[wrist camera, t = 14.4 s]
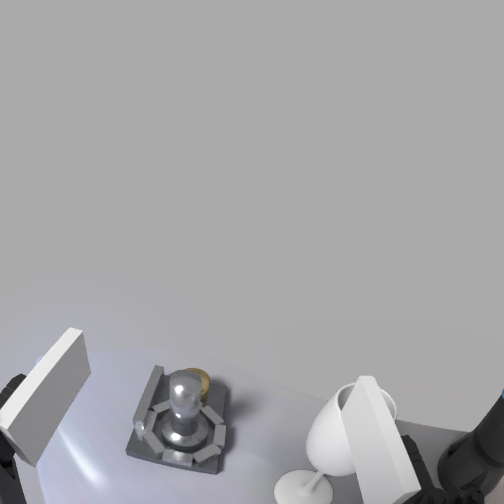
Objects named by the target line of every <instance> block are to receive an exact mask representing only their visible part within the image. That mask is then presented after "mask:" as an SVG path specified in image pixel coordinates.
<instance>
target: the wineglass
mask: <svg viewBox="0 0 504 504" xmlns="http://www.w3.org/2000/svg"><path fill="white" fill-rule="evenodd" d="M355 384H356V383H351V384H347V385H345V386H343V387H342V388H341V389H339V390H338V391H337V392H336V394H335V395H334V396H333V397H332V398H331V399H330V400H329V401H328V403H327V404H326V405H325V406H324V407H323V409H322V410H321V411H320V413H319V414H318V416H317V417H316V419H315V421H314V423H313V425H312V427H311V429H310V431H309V434H308V437H307V441H306V452H307V456H308V458H309V460H310V462H311V463H312V465H313V466H314V467H315V468H316V469H317V470H318V471H317V473H316V472H314V471H310V470H295V471H291V472H288V473H286V474H285V475H283V476H282V477H281V478H280V479H279V480H278V482H277V483H276V486H275V490H274V494H275V498H276V501H277V503H278V504H331V502H332V499H333V489H332V486H331V484H330V483H329V481H328V480H327V479H326V478H325V477H323V475H324V474H327V475H331V476H347V475H350V474H353V473H356V470H355V466H354V462H353V458H352V454H351V451H350V447H349V443H348V440H347V436H346V432H345V429H344V425H343V421H342V418H341V414H340V412H341V411H342V409H343V407H344V405H345V403H346V402H347V400H348V398H349V396H350V394H351V392H352V390H353V388H354V386H355ZM379 389H380V391H381V394H382V396H383V398H384V400H385V402H386V405H387V407H388V409H389V411H390V414H391V416H392V418H393V420H394V423H395V421H396V417H397V407H396V404H395V402H394V400H393V399H392V397H391V396H390V395H389V394H388V393H386V392H385V391H384V390H382V389H381V388H379Z"/></svg>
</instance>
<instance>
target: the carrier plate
mask: <svg viewBox="0 0 504 504" xmlns="http://www.w3.org/2000/svg"><path fill="white" fill-rule="evenodd" d="M185 370H190V371H193V372H195V373H197V374H198V375H199V376H200V377H201V379H202V387H201V398H200V410H199V414H201V415H202V416H203V417H204V418H205V419H206V421H207V423H208V437H207V440H206V442H205V444H204V445H203V446H202V447H200V448H198V449H196V450H193V451H180V450H176V449H174V448H172V447H170V446H169V445H168V444H167V443H166V442H165V441H164V440H163V438H162V435H161V420H162V418H163V416H164V415H165V414H166V413H168V412H169V411H170V376H166V375H164V367H161V366H157V365H155V367H154V369H153V372H152V374H151V376H150V379H149V381H148V383H147V386H146V388H145V390H144V393H143V395H142V398H141V400H140V402H139V405H138V407H137V410H136V412H135V415H134V417H133V423H134V429H133V432H132V434H131V437H130V440H129V442H128V445H127V448H126V453H127V455H129V456H132V457H135V458H139V459H142V460H146V461H150V462H154V463H158V464H162V465H166V466H170V467H175V468H180V469H185V470H190V471H196V472H202V473H208V474H215V475H216V473H217V466H218V457H219V454H221V449H223V450H224V444H225V434H226V425H224V420H223V413H224V404H225V396H226V387H225V386H219V385H212V384H209V380H210V379H209V376H208V374H207V373H206V372H204V371H203V370H201V369H197V368H188V369H185Z"/></svg>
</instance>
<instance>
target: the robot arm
mask: <svg viewBox="0 0 504 504" xmlns="http://www.w3.org/2000/svg"><path fill="white" fill-rule="evenodd" d="M90 374H91V371H90V367H89V362H88V357H87V352H86V347H85V341H84V335H83V331H81V330H77V329H74V328H71V327H70V328H69V329H68V330H67V331H66V332H65V333H64V335H62V337H61V338H60V339H59V340H58V341H57V342H56V343H55V344H54V345H53V347H52V348H51V349H50V350H49V351H48V352H47V353H46V354H45V356H44V357H43V358H42V359H41V360H40V361H39V363H38V364H37V365H36V366H35V367H34V369H33V370H32V371H31V372H30V373H29V374H28V376H25V375H23V374H19V375H18V376H16V377H14V378H12V380H11V381H10V382H9V383H8V384H7V386H6V388H4V389H3V390H2V392H1V393H0V504H27V503H26V500H25V497H24V493H23V490H22V487H21V483H20V479H19V475H18V471H17V467H16V463H15V459H14V457H13V456H14V454H15V452H16V453H17V455H18V456H19V457H20V459H21V460H23V461H25V462H26V463H28V464H30V465H31V466H33V467H35V466H36V464H37V462H38V460H39V459H40V457H41V455H42V453H43V451H44V449H45V448H46V446H47V444H48V442H49V441H50V439H51V437H52V435H53V434H54V432H55V430H56V429H57V427H58V425H59V423H60V422H61V420H62V418H63V417H64V415H65V413H66V412H67V410H68V408H69V407H70V405H71V404H72V402H73V400H74V399H75V397H76V396H77V394H78V392H79V391H80V389H81V388H82V386H83V385H84V383H85V381H86V380H87V378H88V377H89V375H90ZM340 414H341V418H342V421H343V425H344V429H345V432H346V436H347V440H348V443H349V447H350V451H351V454H352V458H353V462H354V466H355V470H356V474H357V478H358V482H359V486H360V490H361V494H362V498H363V502H364V504H484V497H485V496H487V495H488V494H489V493H490V492H491V491H492V490H493V489H494V488H495V487H496V486H497V484H498V483H499V481H500V480H501V478H502V477H503V475H504V389H503V391H502V395H501V396H500V397H499V399H498V400H497V402H496V403H495V404H494V406H493V407H492V408H491V410H490V411H489V412H488V414H487V415H486V416H485V417H484V419H483V420H482V421H481V422H480V424H479V425H478V426H477V427H476V428H475V429H474V430H473V431H472V432H470V433H468V434H467V435H465V436H464V437H462V438H460V439H459V440H457V441H456V442H454V443H453V444H452V445H451V446H450V447H449V448H448V449H447V450H446V451H445V452H444V453H443V454H442V456H441V458H440V460H439V464H438V476H439V480H440V483H441V485H442V487H443V488H444V490H445V491H446V492H447V494H446V493H445V492H444V491H443V490H441V489H438V488H435V487H434V485H433V483H432V481H431V478H430V476H429V474H428V471H427V469H426V466H425V464H424V462H423V461H422V457H421V455H420V454H419V450H418V448H417V446H416V443H415V442H414V441H413V440H412V439H411V438H410V437H409V436H408V435H405V436H400V434H399V432H398V430H397V427H396V425H395V423H394V420H393V418H392V416H391V414H390V411H389V409H388V407H387V405H386V402H385V400H384V398H383V396H382V394H381V391H380V389H379V387H378V385H377V383H376V381H375V378H374V377H373V376H360V377H359V379H358V380H357V382H356V384H355V386H354V388H353V390H352V392H351V394H350V396H349V398H348V400H347V402H346V403H345V405H344V407H343V409H342V411H341V412H340Z"/></svg>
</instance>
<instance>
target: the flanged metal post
mask: <svg viewBox="0 0 504 504" xmlns="http://www.w3.org/2000/svg"><path fill="white" fill-rule="evenodd" d="M201 387H202V379H201V377H200V376H199V375H198V374H197V373H195V372H193V371H190V370H178V371H176V372H174V373H173V374H172V375H171V376H170V411H169V412H168V413H166V414H165V415H164V416H163V418H162V420H161V435H162V438H163V440H164V441H165V442H166V443H167V444H168V445H169V446H170V447H172V448H174V449H176V450H180V451H193V450H196V449H198V448H200V447H202V446H203V445H204V444H205V442H206V440H207V437H208V423H207V421H206V419H205V418H204V417H203V416H202V415H201V414H199V410H200V398H201Z"/></svg>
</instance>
